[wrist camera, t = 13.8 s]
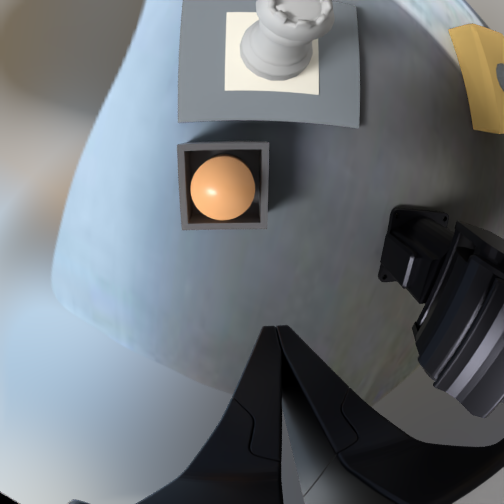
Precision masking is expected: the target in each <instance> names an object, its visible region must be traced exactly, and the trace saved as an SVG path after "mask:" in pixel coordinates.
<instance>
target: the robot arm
mask: <svg viewBox="0 0 504 504" xmlns="http://www.w3.org/2000/svg"><path fill="white" fill-rule="evenodd" d="M396 213H398V216H397V217H395V215H396ZM443 218H444V219H443ZM448 220H449V216H448V214H446V213H444V212H437V211H426V210H414V209H400V208H395V209H393V210H392V211H391V214H390V220H389V225H388V231H387V234H386V237H385V242H384V247H383V252H382V257H381V261H380V262H381V265H380V270H379V274H378V278H379V279H380V281H381V282H393V281H397V282H398V283H399V284H400V285H401V286H402V287H403V288H404V289H405V288H406V289H407V290H408V291H409V292H410V293H411V295H412V296H413V297H414V298H415V299H416V300H417V302H418V303H419V304H422V303H425V306H424V308H423V310H422V312H421V314H420V316H419V318H418V320H417V322H415V323H414V325H413V327H412V330H413V334H414V337H415V341H416V347H417V349H418V352H419V357H418V361H419V363H420V365H421V366H422V367H423V369H424V370H425V372H426V373H427V374H428V376H429V377H430V378H432V379H433V380H434V381H435V382H434V383H433V386H434V387H435V388H438V389H440V390H443V391H445V392H447V393H448V394H450V395H451V396H453V397H454V398H456V399H457V400H458V401H459V402H460V403H461V404H462V405H463V406H464V407H465V408H466V409H467V410H468V411H469V412H470V413H471V414H472V415H475V416H478V417H482V418H486V417H488V416H489V414H490V413H491V412H492V411H493V410H494V409H495V408H496V407H497V406H498V405H499V404H504V239H502V238H500V237H499V236H497V235H495V234H493V233H492V232H490V231H487V230H484V229H481V228H478V227H475V226H473V225H470V224H467V223H464V222H461V221H457V222H456V225H455V229H456V230H455V233H454V232H452V231H450V230H449V229H447V224H448ZM384 275H385V276H384ZM383 276H384V277H383ZM348 388H349V386H348V385H347V384H346V383H345V382H344V381H343V380H342V379H341V378H340V377H339V376H338V375H337V374H336V373H335V372H334V371H333V370H332V369H331V368H330V367H329V366H328V365H327V364H326V363H325V362H324V361H323V360H322V359H321V358H320V357H319V356H318V355H317V354H316V353H315V352H314V351H313V350H312V349H311V348H310V347H309V346H308V345H307V344H306V343H305V342H304V341H303V340H302V339H301V338H300V337H299V336H298V335H297V334H296V333H295V332H294V331H293V330H292V329H291V328H290V327H289V326H288V325H279V326H276V327H275V326H263V327H262V329H261V331H260V334H259V336H258V339H257V341H256V343H255V346H254V348H253V350H252V353H251V355H250V357H249V360H248V362H247V364H246V367H245V369H244V371H243V373H242V376H241V378H240V380H239V382H238V385H237V387H236V389H235V391H234V394H233V396H232V398H231V400H230V402H229V404H228V406H227V408H226V410H225V413H224V414H223V416H222V418H221V420H220V422H219V423H218V425H217V426H216V428H215V430H214V431H213V433H212V434H211V436H210V437H209V439H208V440H207V441H206V443H205V444H204V446H203V447H202V448H201V450H200V451H199V453H198V454H197V455H196V457H195V458H194V459H193V461H192V462H191V463H190V465H189V466H188V467H187V468H186V469H185V470H184V472H183V473H182V474H181V475H179V476H178V477H177V478H176V479H175V480H173V481H172V482H170V483H169V484H167V485H166V486H164V487H162V488H161V489H159V490H158V491H156V492H154V493H153V494H151V495H150V496H148V497H146V498H144V499H143V500H141V501H139V502H138V503H136V504H283V494H282V485H281V484H282V482H281V454H282V453H281V451H282V448H281V447H282V410H283V414H284V418H285V423H286V427H287V431H288V436H289V440H290V444H291V448H292V453H293V457H294V461H295V465H296V469H297V473H298V478H299V482H300V486H301V490H302V494H303V497H304V498H303V499H304V503H305V504H504V438H503V439H502V440H501V441H499V442H498V443H496V444H494V445H491V446H485V447H464V446H451V445H439V444H431V443H425V442H422V441H419V440H416V439H414V438H413V437H410V436H409V435H408V434H406V433H405V432H404V431H402V430H401V429H399V428H398V427H397V426H395V425H394V424H392V423H391V422H390V421H388V420H387V419H386V418H384V417H383V416H382V415H380V414H379V413H378V412H377V411H375V410H374V409H373V408H372V407H370V406H369V405H368V404H367V403H366V402H365V401H363V400H362V399H361V398H360V397H359V396H358V395H357V394H356V393H355V392H354V391H353V390H352V389H351V388H349V389H348ZM0 504H20V503H18V502H17V501H15V500H13V499H12V498H10V497H8V496H7V495H5V494H4V493H2V492H1V491H0ZM67 504H89V503H86V502H83V501H79V500H76V499H73V500H71V501H70V502H68V503H67Z"/></svg>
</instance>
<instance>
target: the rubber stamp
mask: <svg viewBox="0 0 504 504" xmlns="http://www.w3.org/2000/svg"><path fill="white" fill-rule="evenodd" d="M449 34H450V36H451V39H452V42H453V45H454V48H455V51H456V54H457V57H458V61H459V64H460V67H461V71H462V75H463V79H464V83H465V87H466V91H467V96H468V101H469V106H470V112H471V118H472V124H473V129H474V130H479V131H484V132H490V133H495V134H504V36H503V35H502V34H501V33H499V32H496V31H493V30H491V29H488V28H485V27H482V26H479V25H476V24H466V25H463V26H459V27H455V28H452V29H449Z"/></svg>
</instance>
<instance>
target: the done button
mask: <svg viewBox="0 0 504 504" xmlns="http://www.w3.org/2000/svg"><path fill="white" fill-rule="evenodd" d="M254 195H255V183H254V179H253V176H252V173H251V170H250V168H249V167H248V165H247V164H246V163H245V162H244V161H243V160H242V159H240V158H238V157H236V156H234V155H229V154H220V155H216V156H213V157H211V158H210V159H208V160H207V161H206V162H205V163H203V164H202V165H201V166H200V167H199V168H198V170H197V171H196V172H195V174H194V176H193V178H192V181H191V196H192V200H193V202H194V204H195V206H196V207H197V208H198V210H199V211H200V212H202V213H203V214H204V215H206V216H207V217H210V218H212V219H216V220H230V219H233V218H236V217H238V216H240V215H241V214H243V213H244V212H245V211H246V210H247V209H248V208H249V206H250V205H251V203H252V201H253V199H254Z"/></svg>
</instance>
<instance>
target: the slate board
mask: <svg viewBox="0 0 504 504" xmlns="http://www.w3.org/2000/svg"><path fill="white" fill-rule="evenodd" d="M256 1H257V0H183V4H182V15H181V28H180V45H179V69H178V123H187V122H204V121H281V122H298V123H311V124H322V125H332V126H340V127H348V128H359V116H360V61H359V39H358V25H357V13H356V6H354V5H350V4H345V3H341V2H337V1H332V4H333V11H334V18H335V20H334V23H333V25H332V28H331V30H330V31H329V32H328V33H326V34H325V35H324V36H323V37H321V38H318V39H315V40H313V41H312V49H313V54H312V57H311V59H310V62H309V64H308V65H307V67H306V68H305V69H304V70H303V71H302V72H301V73H300V74H299V75H298V76H296V77H293V78H290V79H288V80H285V81H270V80H267V79H265V78H262V77H259V76H257V75H255V74H254V73H253V72H252V71H250V70H249V69H248V68H246V66H245V64H244V62H243V60H242V59H241V57H240V43H241V39H242V37H243V35H244V33H245V31H246V29H247V28H249V27H250V26H251V25H252V24H253V23H255V22H256V21H258V20H259V17H258V16H257V13H256Z"/></svg>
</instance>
